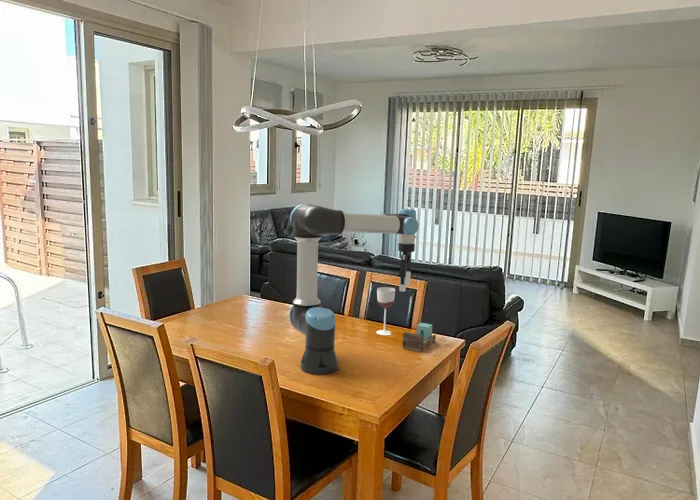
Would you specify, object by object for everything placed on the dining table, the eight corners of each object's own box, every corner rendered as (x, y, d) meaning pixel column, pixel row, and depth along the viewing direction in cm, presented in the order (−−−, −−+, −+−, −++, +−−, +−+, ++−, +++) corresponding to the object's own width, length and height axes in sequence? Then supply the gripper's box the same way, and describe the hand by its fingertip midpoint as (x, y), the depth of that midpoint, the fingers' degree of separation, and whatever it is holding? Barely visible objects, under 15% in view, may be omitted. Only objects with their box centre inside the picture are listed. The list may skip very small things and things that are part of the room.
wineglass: (372, 333, 251) (373, 289, 248) (380, 328, 259) (382, 286, 256) (388, 336, 247) (390, 292, 244) (396, 331, 255) (398, 288, 252)
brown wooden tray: (420, 352, 226) (421, 336, 225) (402, 348, 231) (403, 333, 230) (435, 342, 241) (436, 327, 240) (418, 338, 245) (418, 324, 244)
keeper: (427, 341, 236) (428, 327, 235) (416, 339, 239) (417, 325, 238) (431, 339, 241) (432, 324, 239) (420, 336, 243) (421, 322, 242)
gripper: (410, 247, 221) (408, 294, 224) (418, 239, 244) (416, 283, 248) (393, 245, 223) (391, 293, 226) (403, 238, 246) (401, 281, 250)
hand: (404, 288), depth 237 cm, fingers open, 13 cm apart
